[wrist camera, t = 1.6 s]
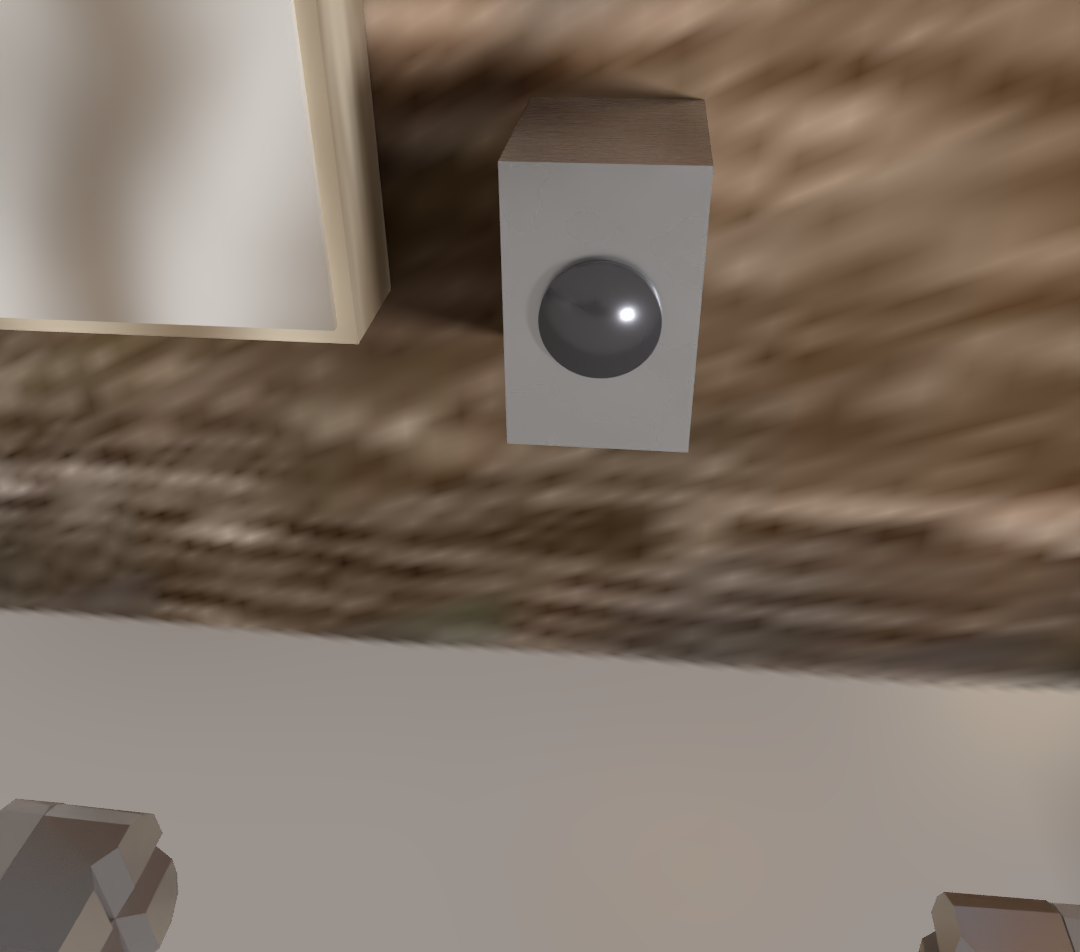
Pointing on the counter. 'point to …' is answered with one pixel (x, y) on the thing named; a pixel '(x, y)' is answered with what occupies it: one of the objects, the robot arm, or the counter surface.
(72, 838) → the robot arm
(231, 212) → the stand
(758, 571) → the counter surface
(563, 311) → the block
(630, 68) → the counter surface
